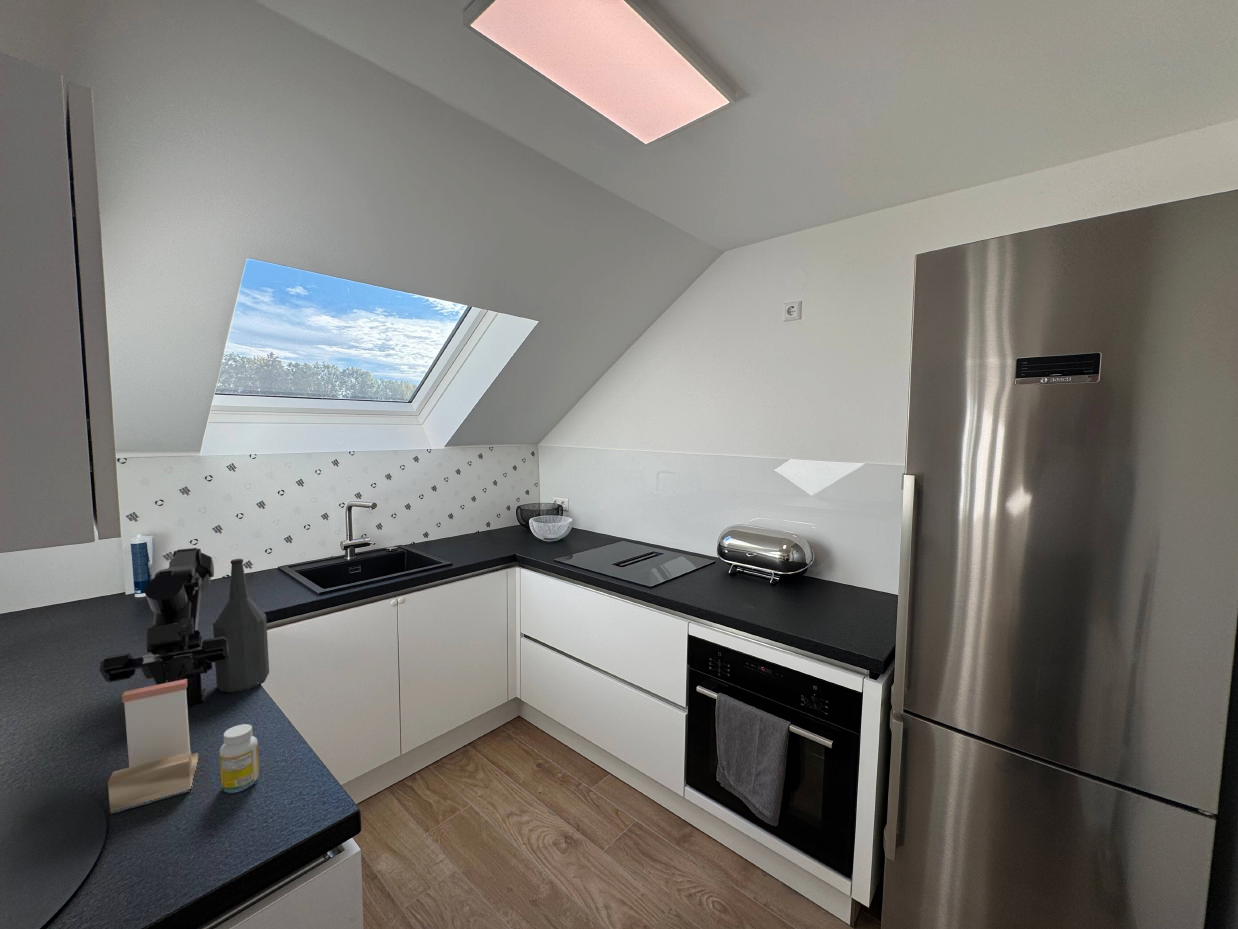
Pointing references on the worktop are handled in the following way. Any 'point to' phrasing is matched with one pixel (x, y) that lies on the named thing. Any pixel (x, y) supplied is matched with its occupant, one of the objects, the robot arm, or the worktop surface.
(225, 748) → the supplement bottle
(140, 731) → the white red-topped panel
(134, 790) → the oak key housing
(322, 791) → the worktop surface
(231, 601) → the bottle
